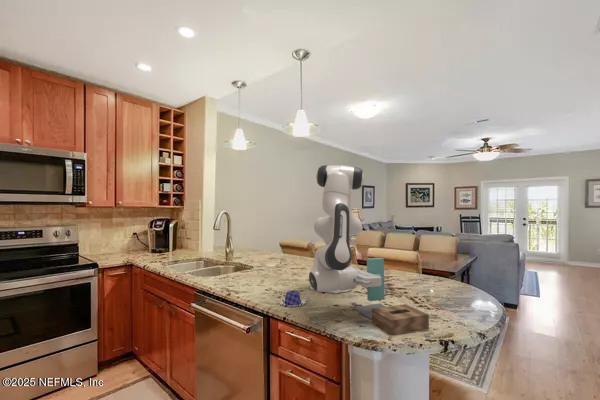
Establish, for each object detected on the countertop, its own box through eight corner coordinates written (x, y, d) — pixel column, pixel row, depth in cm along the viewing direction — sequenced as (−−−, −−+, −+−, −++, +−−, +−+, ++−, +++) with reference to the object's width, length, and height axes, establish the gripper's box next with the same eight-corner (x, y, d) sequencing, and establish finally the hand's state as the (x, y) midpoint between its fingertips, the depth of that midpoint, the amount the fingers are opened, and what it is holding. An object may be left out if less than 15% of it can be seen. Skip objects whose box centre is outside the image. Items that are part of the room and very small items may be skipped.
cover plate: (370, 301, 119) (369, 259, 119) (367, 299, 121) (366, 258, 121) (384, 299, 121) (383, 258, 122) (381, 298, 123) (380, 257, 124)
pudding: (310, 304, 131) (310, 293, 131) (287, 310, 125) (287, 297, 125) (296, 298, 141) (296, 287, 142) (275, 302, 135) (274, 291, 135)
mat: (371, 320, 112) (371, 319, 112) (352, 308, 125) (352, 307, 125) (400, 315, 117) (400, 314, 117) (380, 304, 130) (380, 303, 130)
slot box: (391, 335, 99) (391, 320, 99) (371, 322, 110) (371, 309, 110) (428, 328, 104) (428, 314, 104) (406, 316, 115) (405, 304, 115)
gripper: (362, 275, 107) (393, 272, 112) (336, 265, 126) (364, 263, 131) (362, 292, 107) (393, 288, 112) (337, 280, 126) (364, 277, 131)
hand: (377, 275), depth 122 cm, fingers closed on cover plate, 2 cm apart
